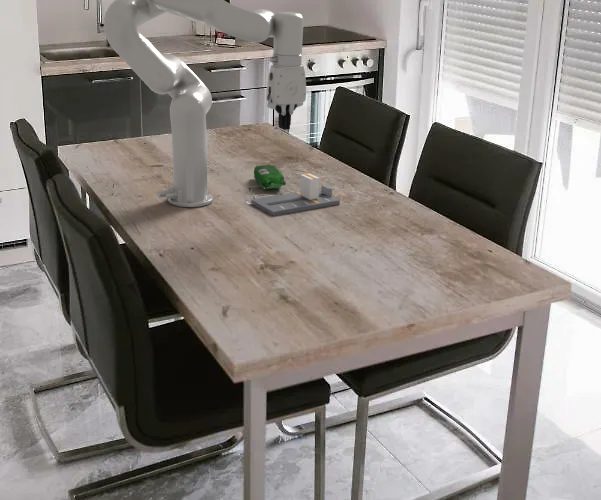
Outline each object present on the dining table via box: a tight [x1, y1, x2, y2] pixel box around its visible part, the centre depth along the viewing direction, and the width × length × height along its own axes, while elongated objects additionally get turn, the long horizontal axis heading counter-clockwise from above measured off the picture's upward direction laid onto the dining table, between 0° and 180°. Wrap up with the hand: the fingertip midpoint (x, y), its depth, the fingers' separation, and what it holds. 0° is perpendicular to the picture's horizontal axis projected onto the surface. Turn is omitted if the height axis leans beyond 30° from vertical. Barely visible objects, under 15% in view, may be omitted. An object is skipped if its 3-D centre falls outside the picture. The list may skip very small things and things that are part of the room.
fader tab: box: [299, 172, 320, 200], centre depth 255 cm, size 3×5×6 cm, turn 33°
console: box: [250, 184, 341, 217], centre depth 253 cm, size 22×12×4 cm, turn 123°
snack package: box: [253, 164, 286, 190], centre depth 269 cm, size 7×16×5 cm, turn 15°
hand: (284, 128), depth 244 cm, fingers closed
